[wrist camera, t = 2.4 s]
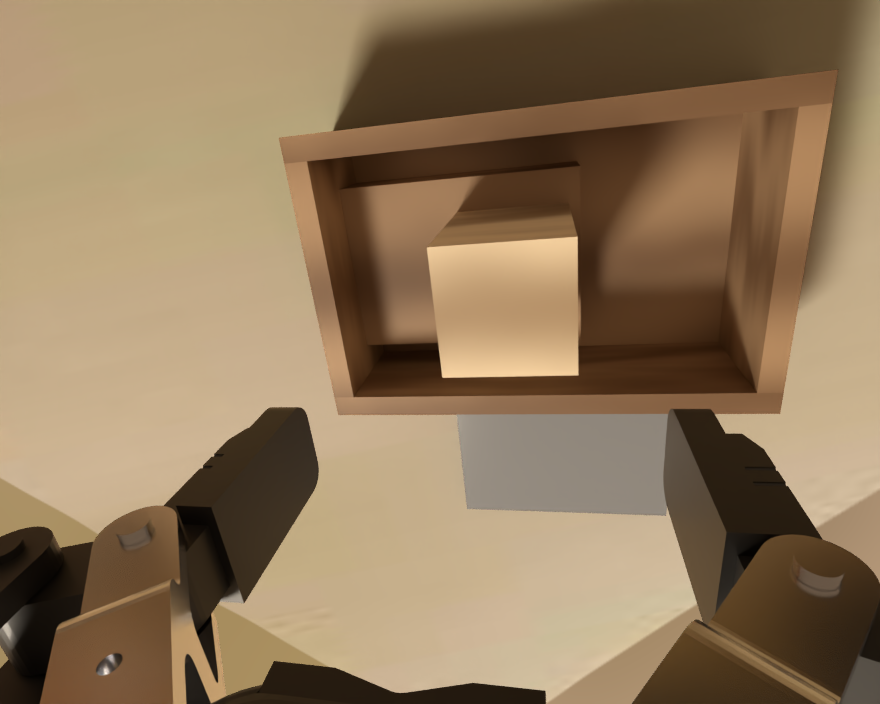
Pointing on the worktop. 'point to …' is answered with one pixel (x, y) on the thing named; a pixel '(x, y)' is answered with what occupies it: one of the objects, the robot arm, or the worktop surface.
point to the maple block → (507, 292)
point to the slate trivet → (564, 462)
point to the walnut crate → (599, 244)
